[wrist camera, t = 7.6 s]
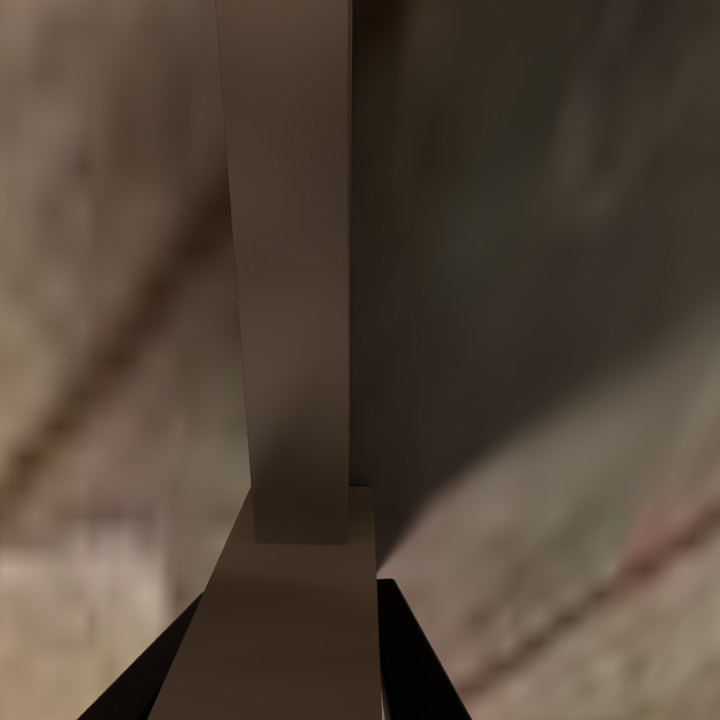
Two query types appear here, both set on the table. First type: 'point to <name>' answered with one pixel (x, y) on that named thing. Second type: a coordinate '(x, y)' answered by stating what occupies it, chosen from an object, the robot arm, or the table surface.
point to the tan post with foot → (289, 392)
